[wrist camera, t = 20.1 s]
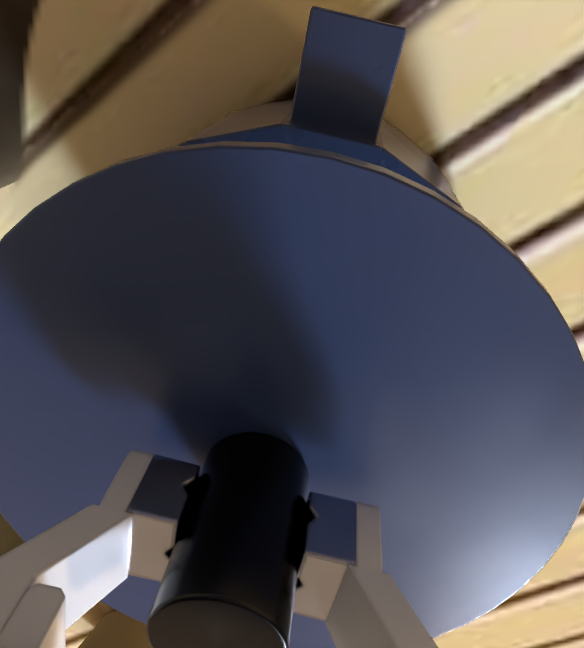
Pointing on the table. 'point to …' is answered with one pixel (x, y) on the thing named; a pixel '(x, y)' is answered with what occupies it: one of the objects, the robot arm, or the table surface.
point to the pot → (339, 101)
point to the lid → (288, 382)
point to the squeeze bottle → (117, 633)
